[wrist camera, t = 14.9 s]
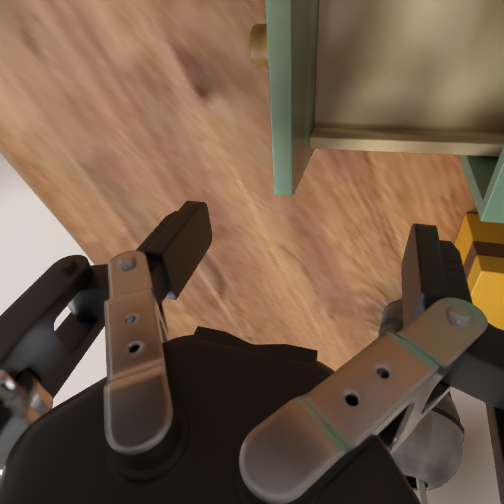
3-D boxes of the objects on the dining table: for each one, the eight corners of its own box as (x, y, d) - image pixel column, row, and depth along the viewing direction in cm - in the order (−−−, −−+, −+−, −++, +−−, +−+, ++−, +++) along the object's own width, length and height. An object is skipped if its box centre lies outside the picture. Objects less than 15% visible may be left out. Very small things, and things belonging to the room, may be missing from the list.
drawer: (281, 143, 28) (248, 193, 21) (274, -133, 18) (213, -184, 12) (537, 154, 22) (589, 223, 16) (704, -219, 13) (964, -377, 7)
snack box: (464, 211, 27) (480, 269, 22) (533, 217, 25) (568, 281, 20) (447, 262, 30) (457, 323, 25) (507, 269, 28) (531, 336, 23)
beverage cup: (354, 304, 36) (325, 533, 22) (422, 279, 32) (443, 548, 17) (393, 346, 38) (391, 582, 24) (462, 328, 34) (513, 606, 19)
